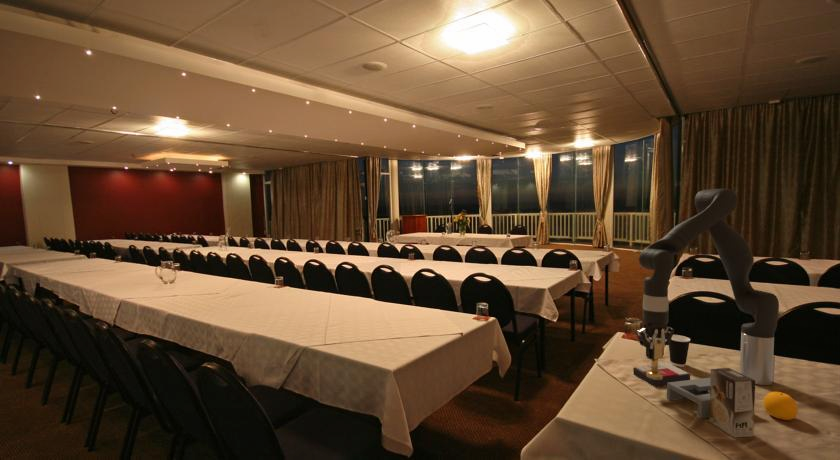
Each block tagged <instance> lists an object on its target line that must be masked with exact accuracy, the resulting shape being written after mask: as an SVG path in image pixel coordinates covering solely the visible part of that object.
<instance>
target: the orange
mask: <svg viewBox="0 0 840 460" xmlns="http://www.w3.org/2000/svg"><path fill="white" fill-rule="evenodd" d="M762 403H763V408H764V410H765V412H767V413H768V415H769V416H771V417H774V418H776V419H779V420H783V421H784V420H785V421H791V420H793V419H795V418H796V417H797V415H798V413H799V408H798V404H797V402H796V400H795V399H794V398H792V397H791V396H790V395H789V394H787V393H784V392H780V391H771V392H769V393H767V394H766V395H765V396H764V398H763V402H762Z"/></svg>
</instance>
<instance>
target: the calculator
mask: <svg viewBox="0 0 840 460" xmlns="http://www.w3.org/2000/svg"><path fill="white" fill-rule="evenodd" d="M632 370H633V375H634V376H636V377H637V378H639V379H640V378H641V379H640V380H642V381H644V382H645V381H646V383H647V382H648V383H647V384H648V385H650V384H651V385H650V386H652V385H653V387H663V386H664V385H666V386H667V383H668V382H677V381H685V380H691V374H690V373H688V372H686V371H685V370H682V369H681V368H678V366H674V365H672V364H671V363H669V362H664V363H658V371H659V372H661V373H662V374H663V379H662V380H653V379H650V378H648V377H647V376H646V371H647V370H651V364H645V365H637V366H634V367H633V369H632Z"/></svg>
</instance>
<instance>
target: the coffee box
mask: <svg viewBox="0 0 840 460" xmlns="http://www.w3.org/2000/svg"><path fill="white" fill-rule="evenodd" d="M709 371H710V375H709V378H710V414H709V419H708V421H709V422H710V423H712V424H713V425H715V426H716V427H717V428H719V429H721V430H722V431H724V432H725V433H727V434H728V435H730V436H731V437H733V438H746V437H747V438H749V437H751V438H752V437H754V435H755V434H754V433H755V432H754V431H755V404H756V403H755V401H756V400H755V399H756V398H755V397H756V395H755V394H756V384H755V380H753V379H751V378H749V377H747V376H745V375H743V374H741V373H740V372H738V371H736V370H734V369H732V368H729V367H723V368H722V367H721V368H711V369H710V370H709Z"/></svg>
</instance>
